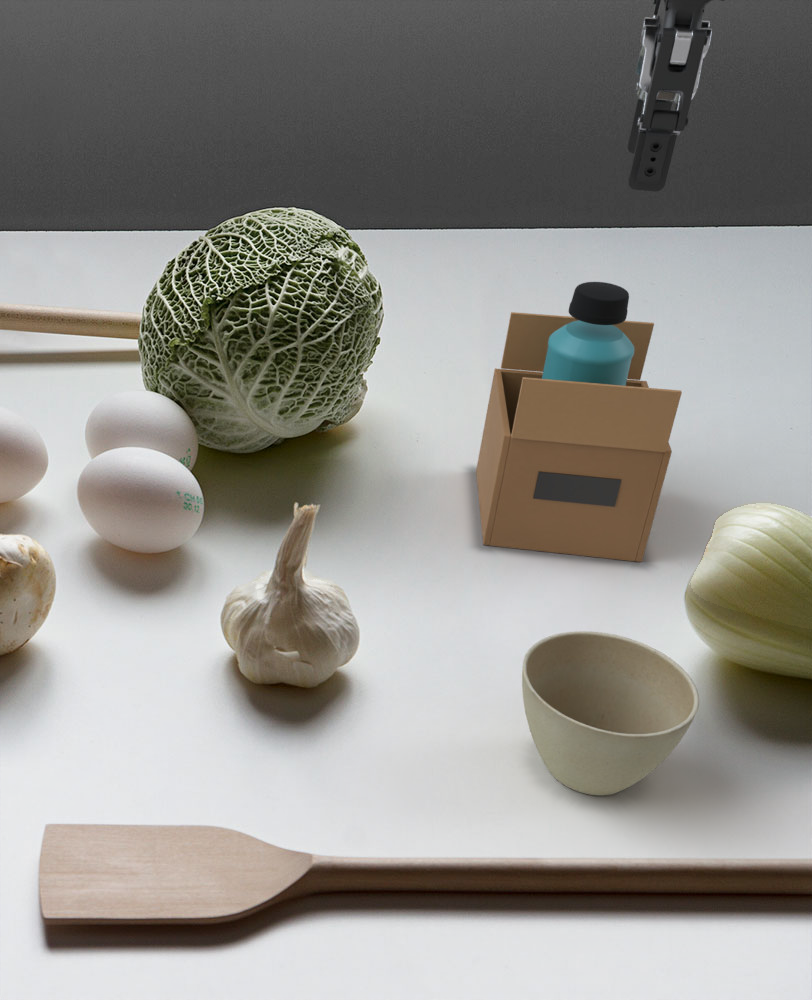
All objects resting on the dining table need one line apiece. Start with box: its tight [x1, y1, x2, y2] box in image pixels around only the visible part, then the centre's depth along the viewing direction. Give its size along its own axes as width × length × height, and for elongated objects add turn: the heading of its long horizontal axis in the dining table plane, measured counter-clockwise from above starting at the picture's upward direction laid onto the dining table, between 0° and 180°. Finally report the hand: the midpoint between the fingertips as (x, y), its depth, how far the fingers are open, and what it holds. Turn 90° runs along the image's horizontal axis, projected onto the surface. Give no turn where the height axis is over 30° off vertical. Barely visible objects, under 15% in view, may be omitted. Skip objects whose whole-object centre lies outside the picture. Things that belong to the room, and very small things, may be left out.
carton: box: [475, 311, 682, 563], centre depth 104 cm, size 12×13×15 cm
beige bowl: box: [521, 630, 700, 796], centre depth 80 cm, size 10×10×7 cm
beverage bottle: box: [542, 281, 634, 386], centre depth 102 cm, size 6×7×20 cm
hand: (643, 170), depth 88 cm, fingers open, 8 cm apart
